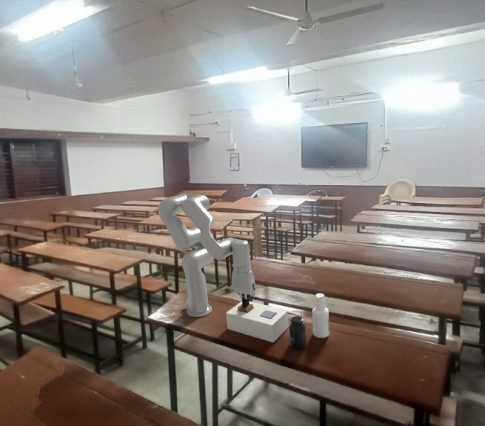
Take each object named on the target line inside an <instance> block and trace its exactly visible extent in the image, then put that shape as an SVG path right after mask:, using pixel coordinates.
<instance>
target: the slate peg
mask: <svg viewBox="0 0 485 426" xmlns="http://www.w3.org/2000/svg"><path fill="white" fill-rule="evenodd" d="M275 315H276V312H272V311H268V310H266V311H265V312H264V313H262V314H261V315H260V316H261V317H264V318H268V319H272V318H273V317H274V316H275Z"/></svg>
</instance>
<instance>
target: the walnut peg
mask: <svg viewBox="0 0 485 426" xmlns="http://www.w3.org/2000/svg"><path fill="white" fill-rule="evenodd" d="M252 309H253V304H249V305H248V306H247V307H243V306H242V304H241V305H240V306H238V311H241V312H245V313H248V312H250V311H251V310H252Z"/></svg>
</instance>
